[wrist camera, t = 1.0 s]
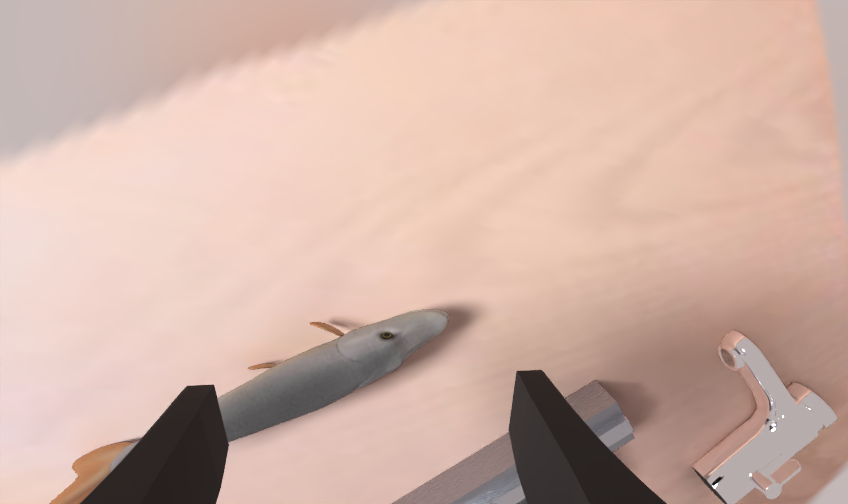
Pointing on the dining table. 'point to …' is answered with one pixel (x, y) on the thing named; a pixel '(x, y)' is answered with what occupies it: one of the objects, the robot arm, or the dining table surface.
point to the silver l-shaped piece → (762, 429)
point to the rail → (495, 466)
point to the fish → (292, 386)
